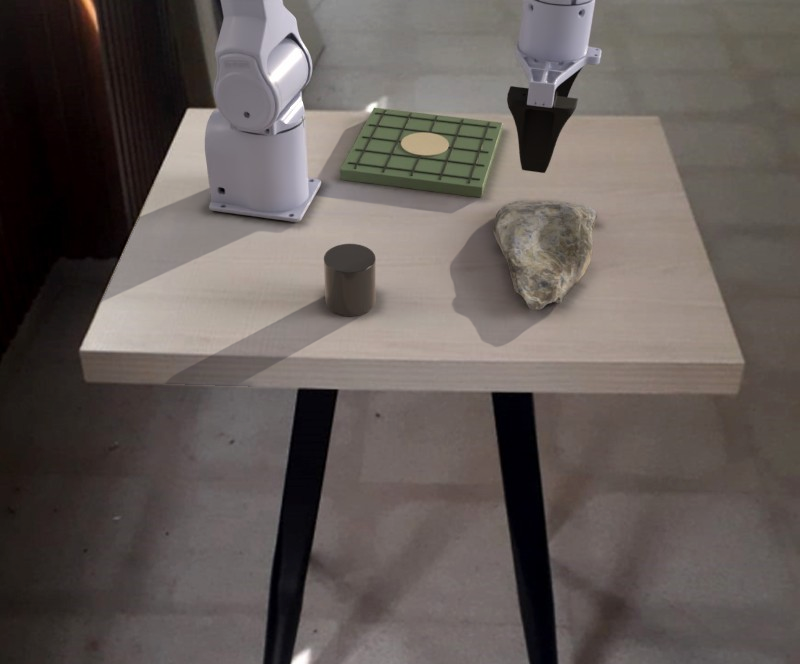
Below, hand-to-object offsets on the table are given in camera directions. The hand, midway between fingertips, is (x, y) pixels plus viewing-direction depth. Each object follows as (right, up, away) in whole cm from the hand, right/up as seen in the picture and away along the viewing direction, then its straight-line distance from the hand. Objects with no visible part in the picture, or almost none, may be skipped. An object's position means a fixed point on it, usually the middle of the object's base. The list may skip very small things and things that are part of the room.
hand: (539, 149), depth 85 cm
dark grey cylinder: (-17, -14, -1) cm, 22 cm away
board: (-10, +4, +19) cm, 22 cm away
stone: (+1, -9, +5) cm, 10 cm away
